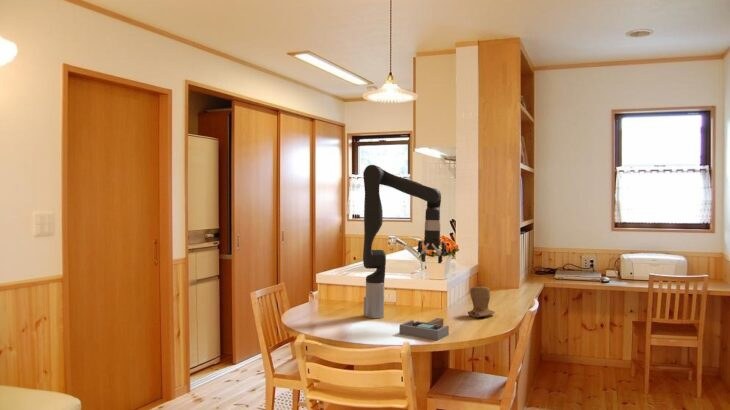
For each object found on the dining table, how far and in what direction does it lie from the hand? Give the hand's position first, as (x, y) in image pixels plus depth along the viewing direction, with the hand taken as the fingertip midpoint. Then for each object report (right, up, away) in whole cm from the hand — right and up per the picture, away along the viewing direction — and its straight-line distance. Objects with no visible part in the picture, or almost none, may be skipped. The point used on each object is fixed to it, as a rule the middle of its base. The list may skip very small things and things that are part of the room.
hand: (431, 262), depth 279 cm
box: (-7, -29, -28) cm, 41 cm away
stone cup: (+26, -29, +12) cm, 40 cm away
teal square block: (-6, -29, -28) cm, 40 cm away
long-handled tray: (-2, -29, -20) cm, 35 cm away
